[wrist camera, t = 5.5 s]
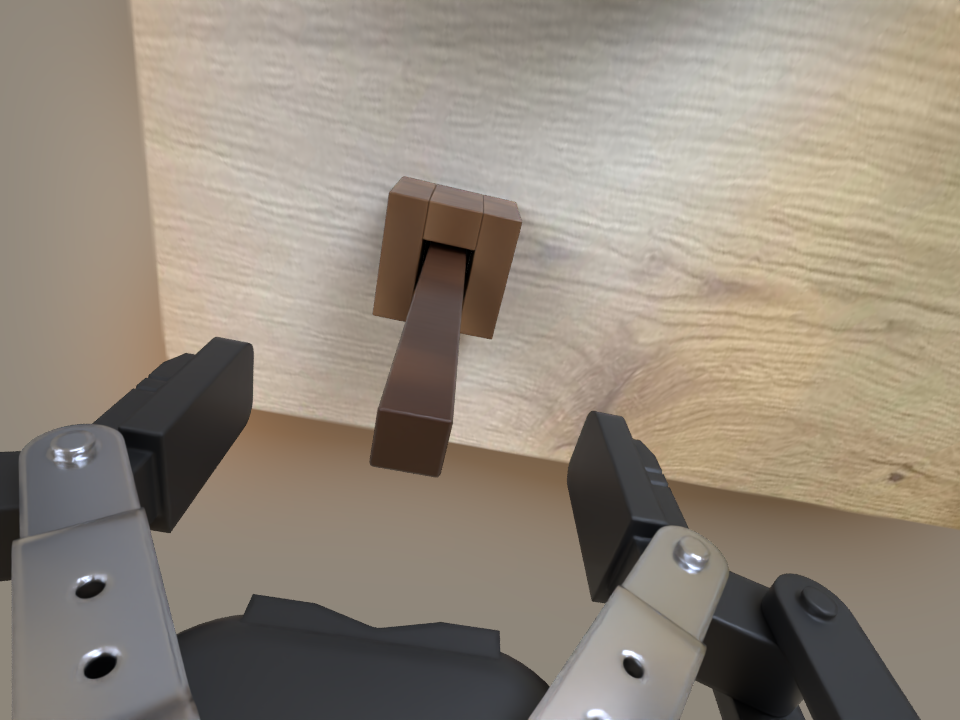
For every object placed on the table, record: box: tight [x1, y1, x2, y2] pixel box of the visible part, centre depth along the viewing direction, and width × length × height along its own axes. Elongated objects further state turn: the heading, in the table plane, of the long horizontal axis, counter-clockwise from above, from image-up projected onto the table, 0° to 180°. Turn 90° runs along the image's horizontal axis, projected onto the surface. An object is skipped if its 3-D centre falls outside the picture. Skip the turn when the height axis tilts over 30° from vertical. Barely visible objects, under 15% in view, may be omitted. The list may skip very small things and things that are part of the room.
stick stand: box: [373, 177, 522, 339], centre depth 24 cm, size 5×5×4 cm
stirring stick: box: [370, 241, 467, 477], centre depth 18 cm, size 2×2×16 cm
